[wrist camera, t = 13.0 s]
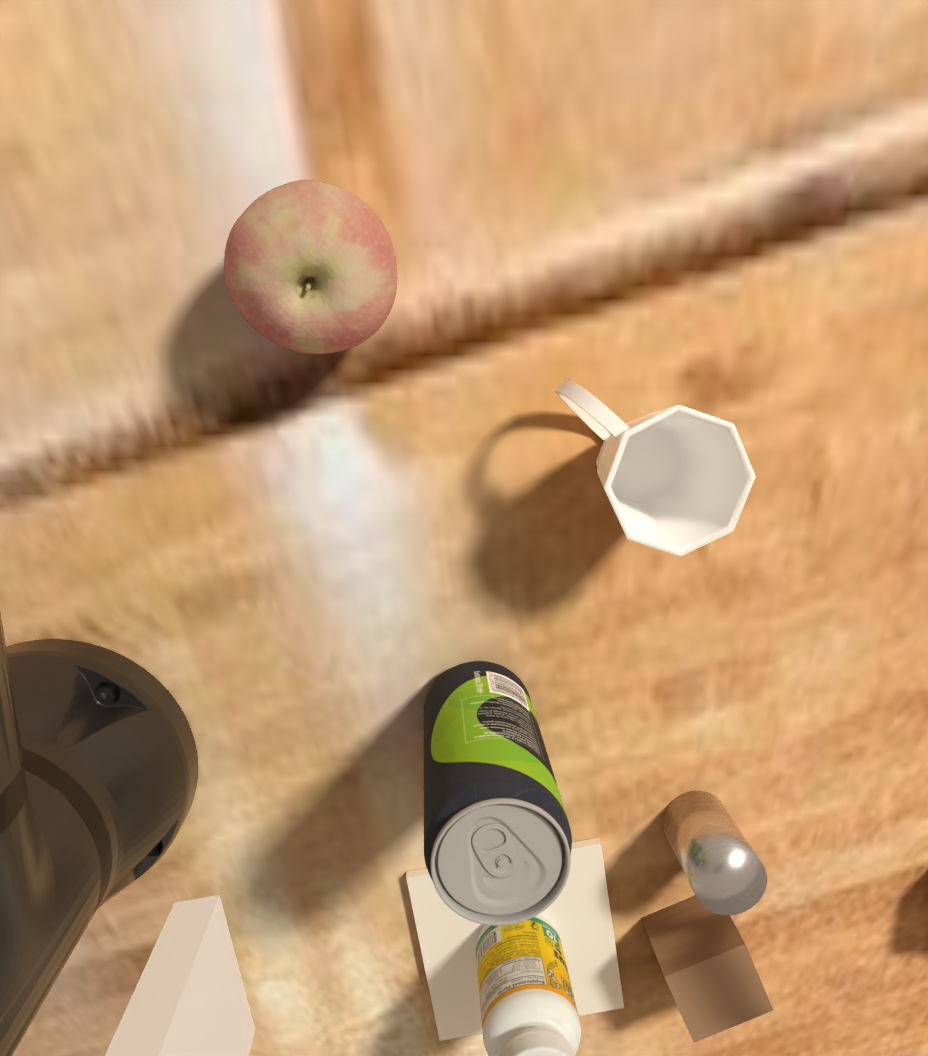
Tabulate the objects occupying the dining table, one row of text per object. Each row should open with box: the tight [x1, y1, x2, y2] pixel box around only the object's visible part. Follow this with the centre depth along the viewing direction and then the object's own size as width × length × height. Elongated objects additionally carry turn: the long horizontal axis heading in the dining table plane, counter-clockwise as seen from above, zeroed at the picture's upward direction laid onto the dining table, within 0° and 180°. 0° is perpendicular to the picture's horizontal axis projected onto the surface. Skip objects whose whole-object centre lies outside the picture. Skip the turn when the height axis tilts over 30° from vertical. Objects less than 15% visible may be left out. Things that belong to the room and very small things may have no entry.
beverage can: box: [424, 661, 572, 926], centre depth 40 cm, size 6×6×15 cm
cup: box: [555, 378, 756, 556], centre depth 40 cm, size 7×10×8 cm
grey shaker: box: [662, 791, 767, 915], centre depth 46 cm, size 4×4×6 cm
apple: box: [224, 180, 397, 354], centre depth 38 cm, size 8×8×8 cm
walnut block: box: [641, 895, 773, 1042], centre depth 49 cm, size 5×5×5 cm
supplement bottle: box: [475, 914, 581, 1056], centre depth 45 cm, size 5×5×10 cm
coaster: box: [406, 838, 624, 1041], centre depth 50 cm, size 12×12×1 cm
